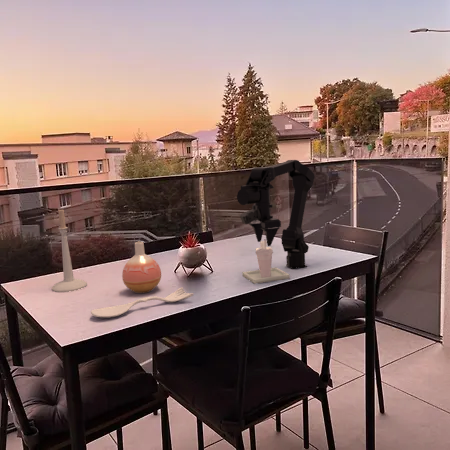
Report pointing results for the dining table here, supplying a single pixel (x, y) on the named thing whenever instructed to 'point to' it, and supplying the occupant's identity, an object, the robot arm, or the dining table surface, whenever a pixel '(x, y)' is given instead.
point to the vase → (141, 271)
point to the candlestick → (66, 263)
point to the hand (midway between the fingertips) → (264, 243)
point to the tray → (256, 277)
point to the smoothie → (264, 261)
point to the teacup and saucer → (263, 246)
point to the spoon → (122, 309)
